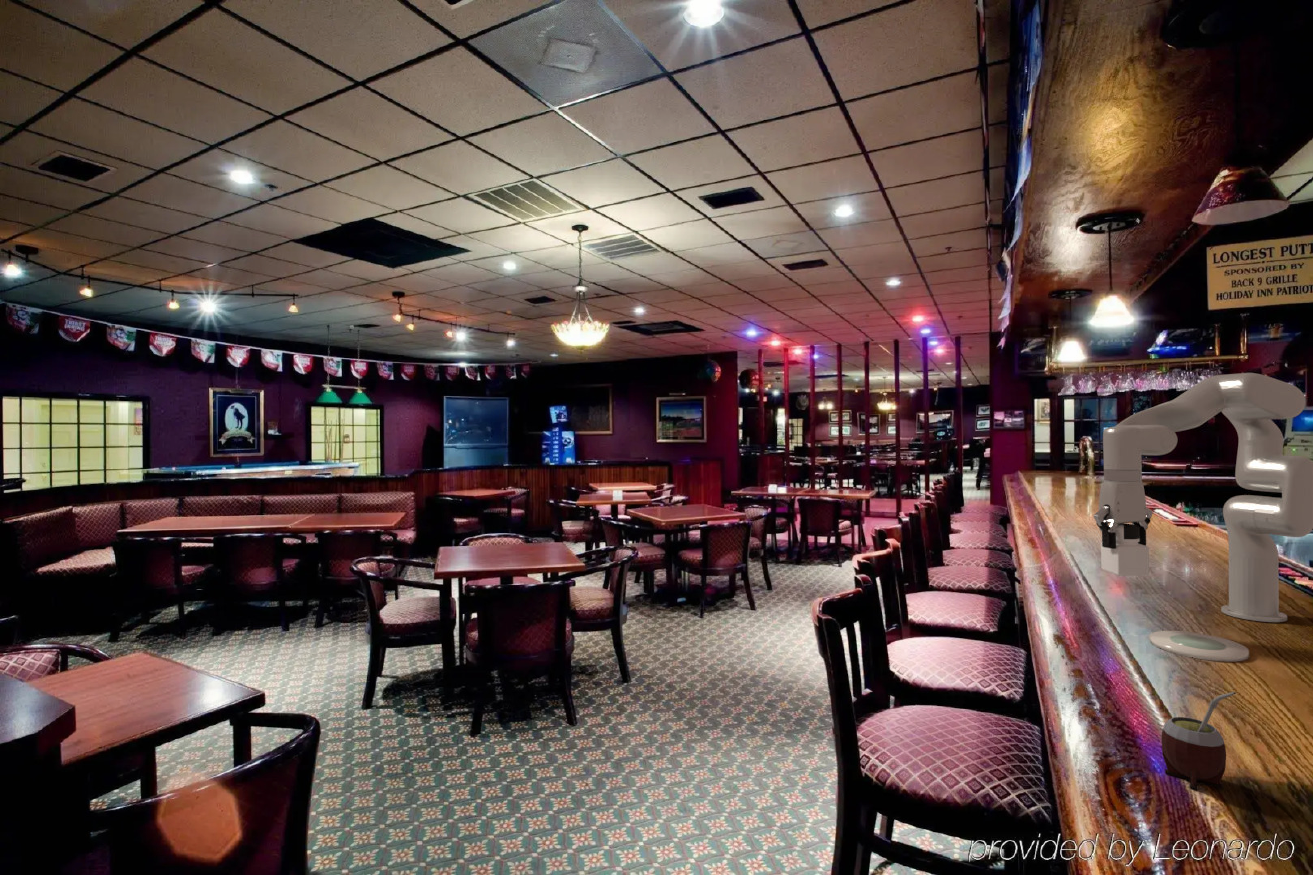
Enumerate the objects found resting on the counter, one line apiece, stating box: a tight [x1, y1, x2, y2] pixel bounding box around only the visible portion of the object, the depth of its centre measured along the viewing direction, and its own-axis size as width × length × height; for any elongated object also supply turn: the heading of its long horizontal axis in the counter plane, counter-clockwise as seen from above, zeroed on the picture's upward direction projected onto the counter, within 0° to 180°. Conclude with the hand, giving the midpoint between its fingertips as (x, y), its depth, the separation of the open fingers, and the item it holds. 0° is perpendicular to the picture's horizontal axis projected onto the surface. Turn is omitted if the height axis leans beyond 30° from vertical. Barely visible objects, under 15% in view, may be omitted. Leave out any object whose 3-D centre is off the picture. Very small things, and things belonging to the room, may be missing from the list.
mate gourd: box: [1161, 691, 1237, 792], centre depth 89 cm, size 8×8×15 cm
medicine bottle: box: [1100, 523, 1150, 577], centre depth 156 cm, size 7×7×12 cm
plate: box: [1149, 630, 1250, 663], centre depth 143 cm, size 17×17×1 cm
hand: (1124, 546), depth 156 cm, fingers closed on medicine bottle, 8 cm apart
